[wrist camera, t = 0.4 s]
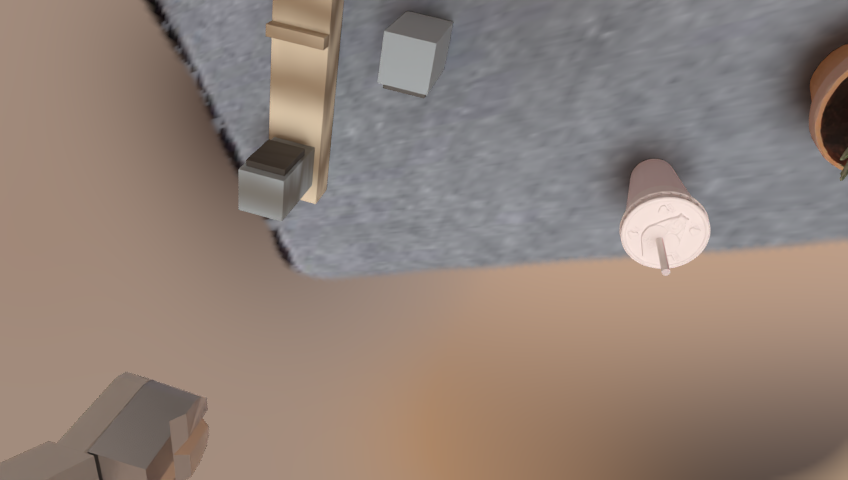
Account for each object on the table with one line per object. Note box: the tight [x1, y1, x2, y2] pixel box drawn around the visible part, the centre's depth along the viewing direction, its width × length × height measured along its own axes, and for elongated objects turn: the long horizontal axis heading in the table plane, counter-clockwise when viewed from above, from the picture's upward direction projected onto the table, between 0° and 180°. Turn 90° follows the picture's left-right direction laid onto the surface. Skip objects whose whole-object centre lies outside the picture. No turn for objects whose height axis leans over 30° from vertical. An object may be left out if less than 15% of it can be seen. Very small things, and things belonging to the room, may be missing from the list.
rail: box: [239, 0, 344, 221], centre depth 50 cm, size 24×5×10 cm, turn 170°
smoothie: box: [619, 159, 710, 276], centre depth 47 cm, size 6×6×14 cm
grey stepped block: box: [377, 11, 453, 98], centre depth 48 cm, size 5×4×7 cm
